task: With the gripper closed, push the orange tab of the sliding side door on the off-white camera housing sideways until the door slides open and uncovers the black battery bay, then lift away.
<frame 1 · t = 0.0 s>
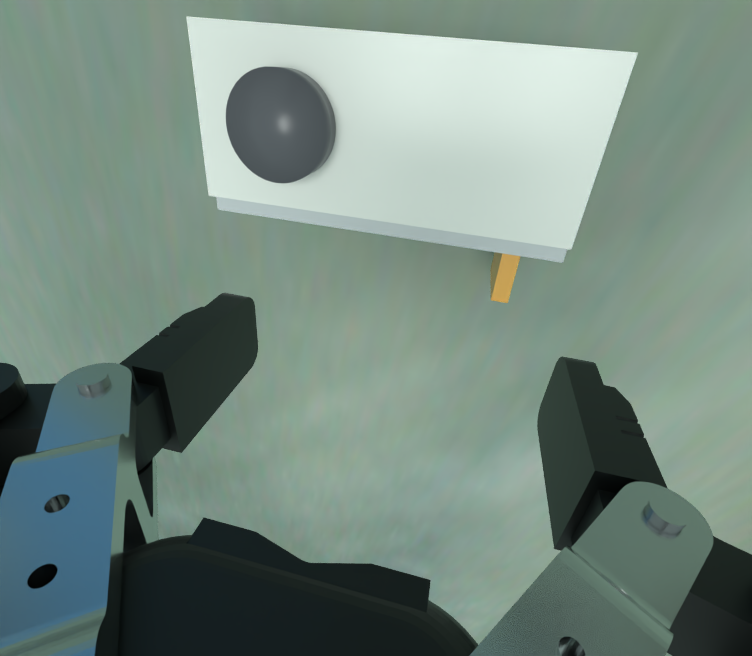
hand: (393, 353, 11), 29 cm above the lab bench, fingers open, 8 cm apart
camera housing: (415, 120, 35), on the lab bench
side door: (453, 247, 33), point 6 cm above the lab bench, slide at 0.0 cm
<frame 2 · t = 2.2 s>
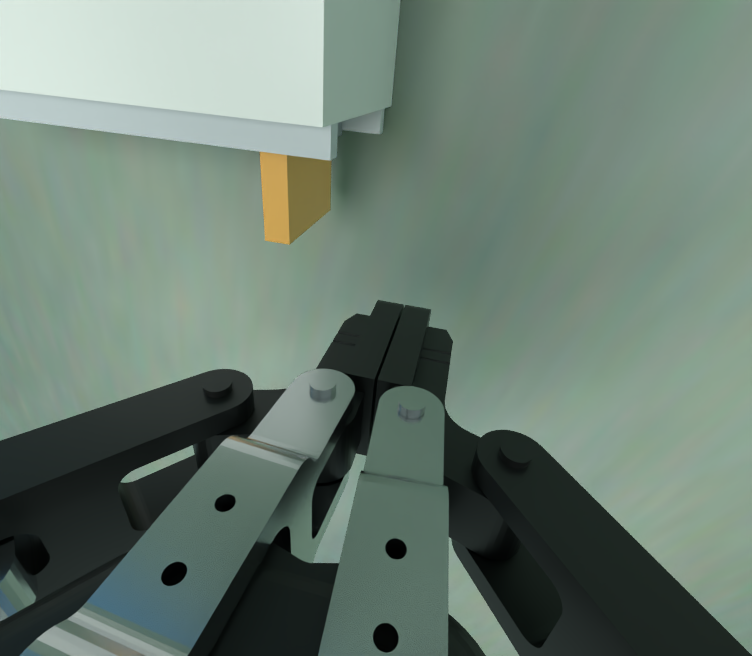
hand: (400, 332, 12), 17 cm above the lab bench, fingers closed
side door: (225, 163, 21), point 7 cm above the lab bench, slide at 0.0 cm
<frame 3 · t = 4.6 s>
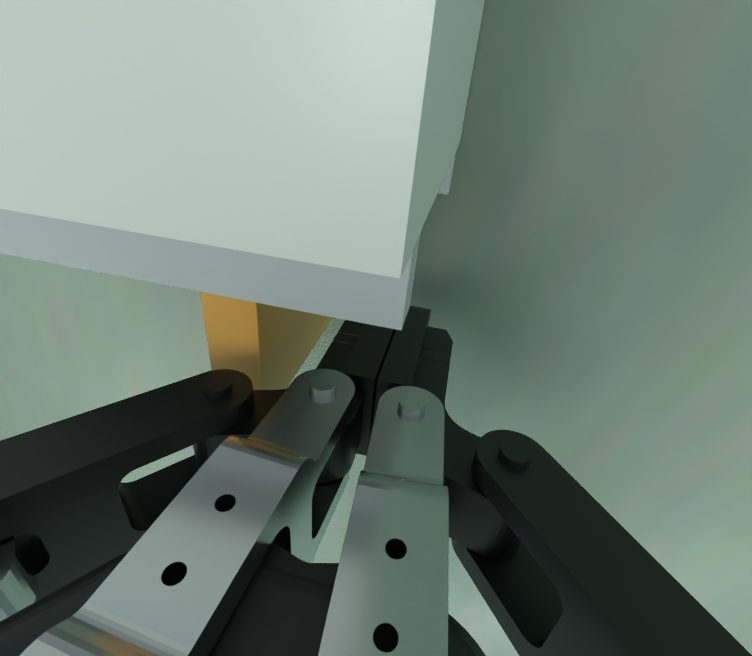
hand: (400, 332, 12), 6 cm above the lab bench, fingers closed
side door: (154, 248, 12), point 6 cm above the lab bench, slide at 0.7 cm, touching gripper
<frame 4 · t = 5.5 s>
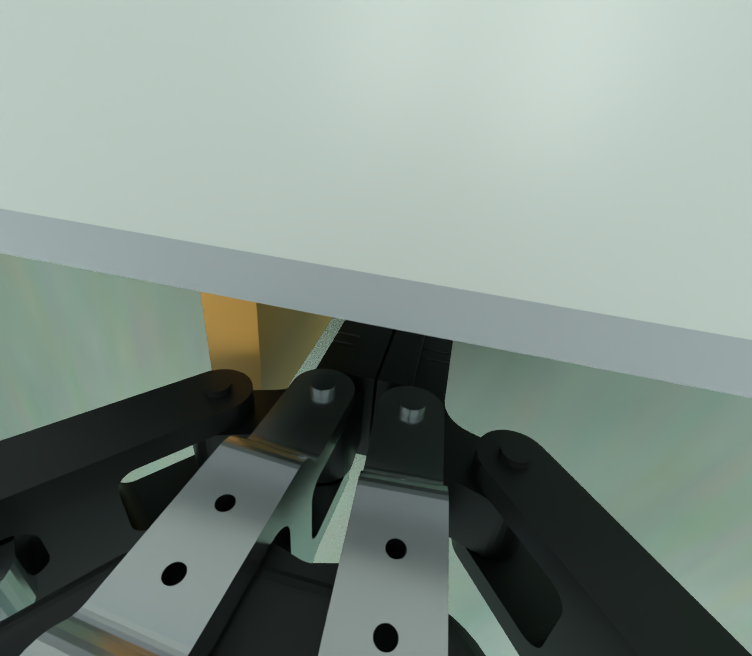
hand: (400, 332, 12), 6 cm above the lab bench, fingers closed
side door: (154, 248, 12), point 7 cm above the lab bench, slide at 5.9 cm, touching gripper
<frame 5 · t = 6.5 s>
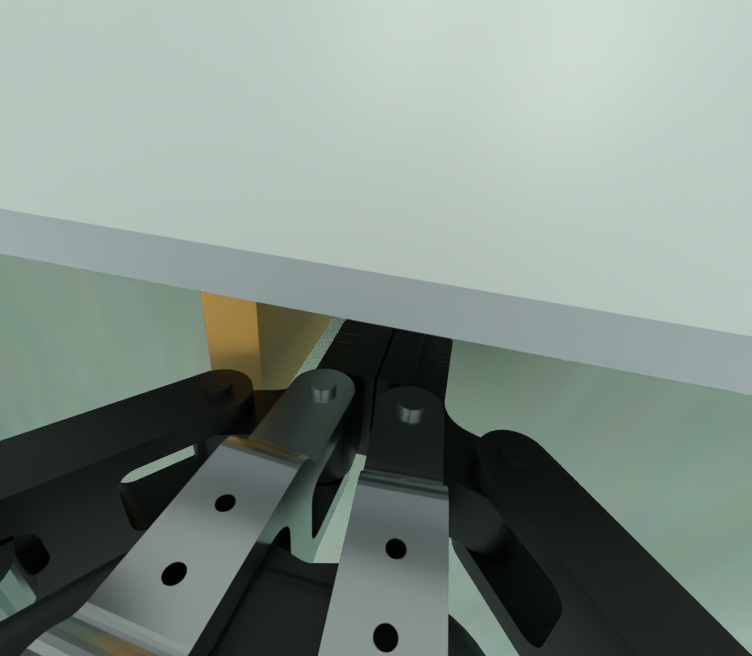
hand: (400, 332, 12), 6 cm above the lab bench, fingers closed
side door: (154, 248, 12), point 6 cm above the lab bench, slide at 10.0 cm, touching gripper
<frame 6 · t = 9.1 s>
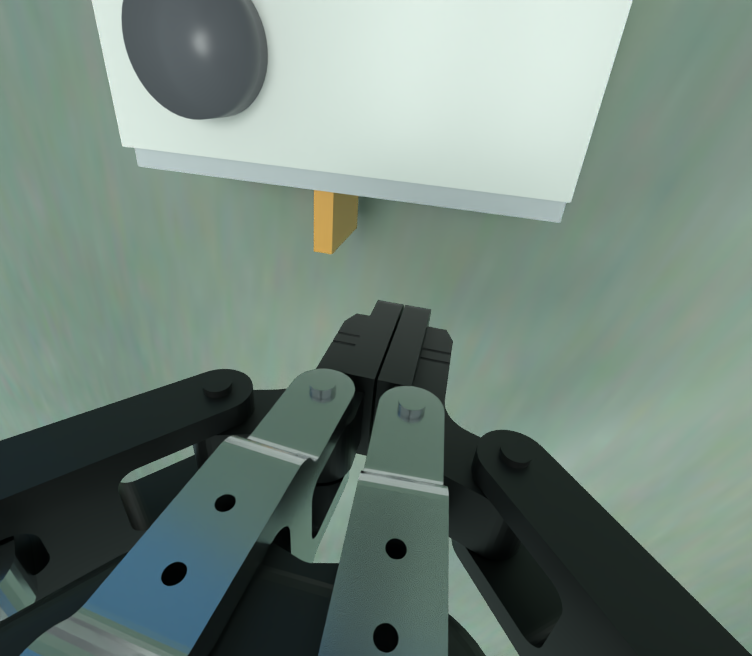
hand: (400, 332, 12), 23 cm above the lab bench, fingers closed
camera housing: (384, 68, 29), on the lab bench
side door: (281, 194, 29), point 7 cm above the lab bench, slide at 10.0 cm
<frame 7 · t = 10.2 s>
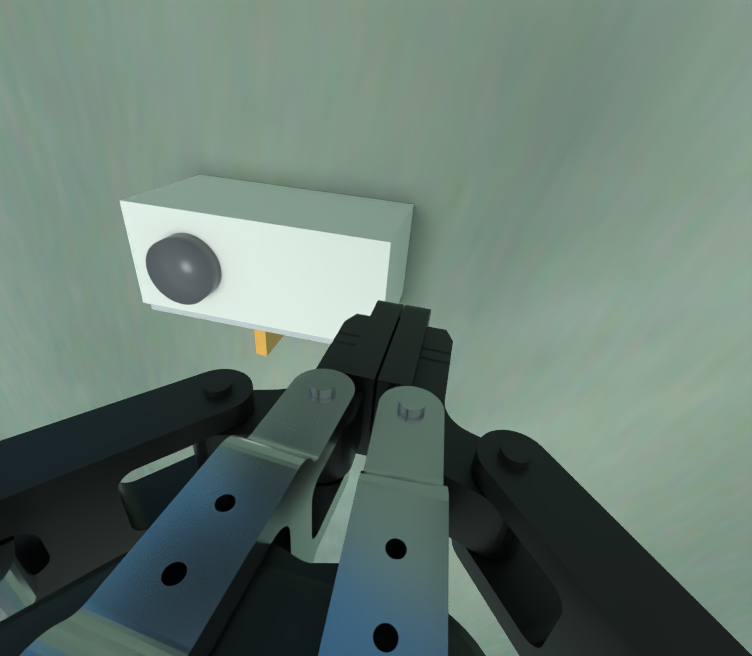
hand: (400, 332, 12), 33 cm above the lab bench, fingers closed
camera housing: (302, 234, 47), on the lab bench
side door: (238, 314, 47), point 7 cm above the lab bench, slide at 10.0 cm
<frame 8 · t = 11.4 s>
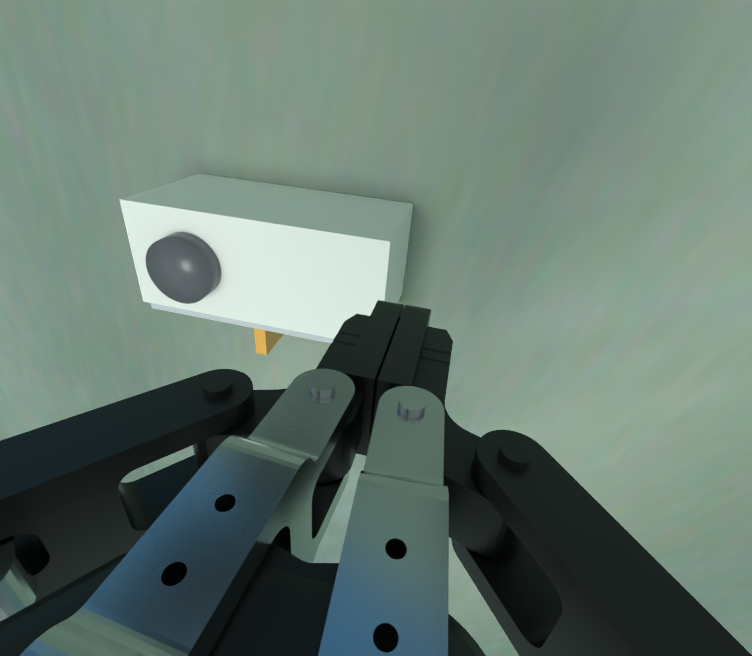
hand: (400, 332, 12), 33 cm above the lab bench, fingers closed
camera housing: (302, 233, 47), on the lab bench
side door: (238, 313, 47), point 6 cm above the lab bench, slide at 10.0 cm
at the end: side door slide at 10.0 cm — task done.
